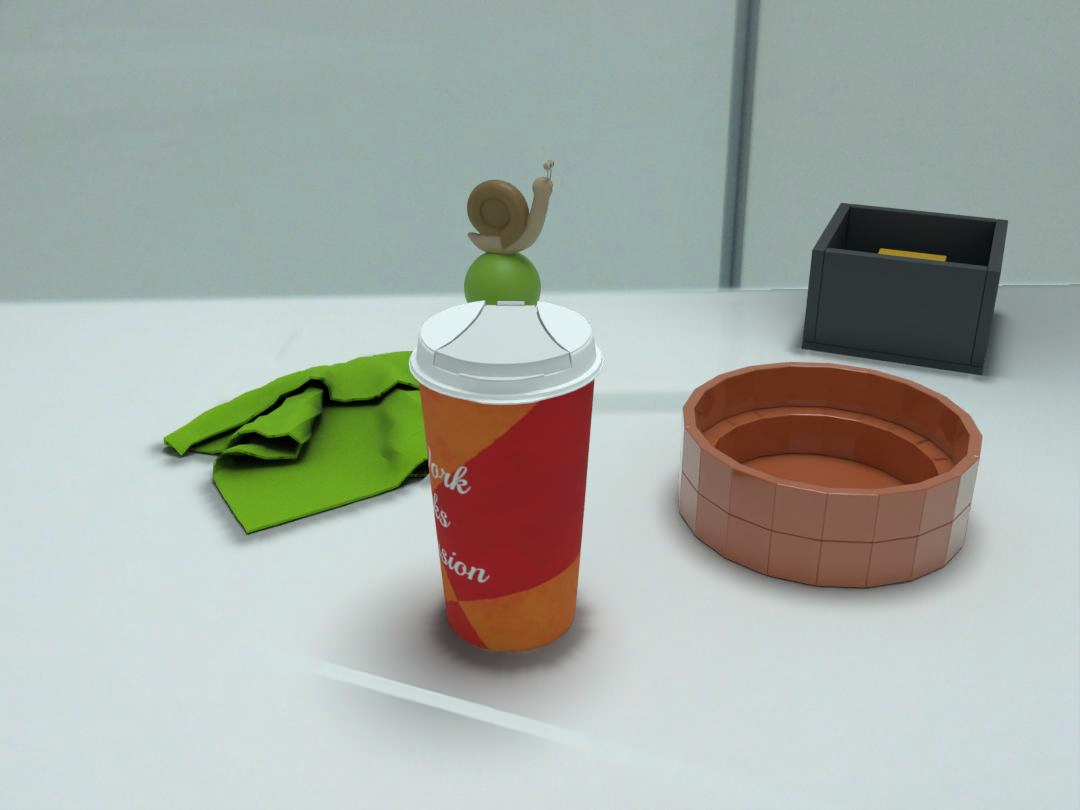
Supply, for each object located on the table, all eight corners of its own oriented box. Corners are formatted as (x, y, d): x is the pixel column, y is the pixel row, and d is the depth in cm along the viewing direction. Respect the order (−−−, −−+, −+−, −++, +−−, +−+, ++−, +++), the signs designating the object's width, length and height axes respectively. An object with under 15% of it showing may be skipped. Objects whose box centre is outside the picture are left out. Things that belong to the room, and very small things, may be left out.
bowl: (972, 478, 62) (989, 386, 60) (951, 627, 51) (971, 520, 48) (716, 432, 67) (722, 346, 65) (642, 559, 56) (647, 459, 53)
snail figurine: (540, 343, 79) (540, 171, 74) (453, 332, 81) (447, 163, 76) (563, 315, 84) (564, 151, 79) (480, 305, 86) (476, 144, 80)
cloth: (530, 359, 77) (530, 325, 76) (513, 537, 57) (512, 495, 56) (226, 356, 77) (222, 322, 76) (106, 531, 58) (98, 489, 57)
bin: (991, 314, 84) (1008, 219, 81) (981, 376, 74) (1001, 271, 71) (830, 293, 88) (840, 202, 85) (801, 349, 78) (812, 249, 75)
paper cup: (435, 570, 55) (421, 292, 49) (597, 573, 54) (603, 294, 48) (412, 677, 48) (392, 369, 42) (598, 681, 47) (605, 372, 41)
